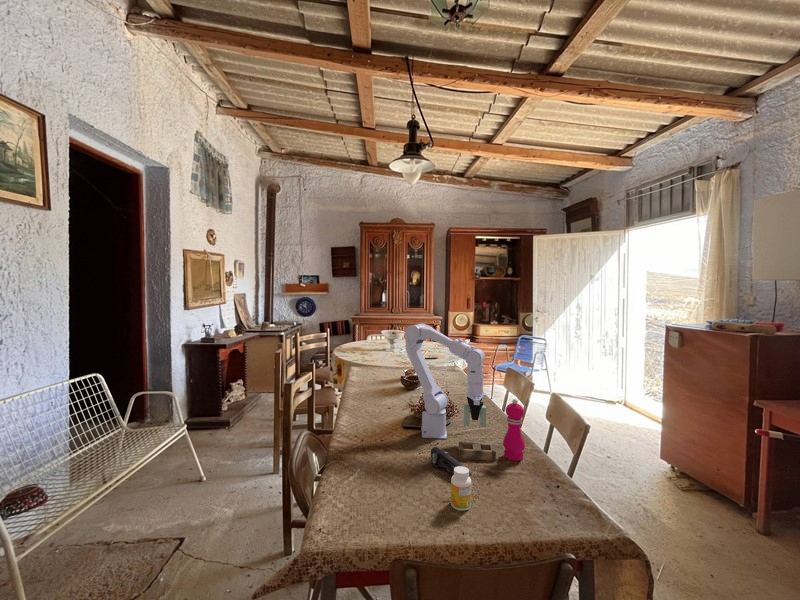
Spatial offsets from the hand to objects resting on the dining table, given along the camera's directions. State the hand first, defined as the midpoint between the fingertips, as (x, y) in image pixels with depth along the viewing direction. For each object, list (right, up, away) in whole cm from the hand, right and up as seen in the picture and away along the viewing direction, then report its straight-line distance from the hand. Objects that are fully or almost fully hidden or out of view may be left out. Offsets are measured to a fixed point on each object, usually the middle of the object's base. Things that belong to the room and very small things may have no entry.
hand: (474, 418), depth 139 cm
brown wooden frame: (-1, -10, -9) cm, 14 cm away
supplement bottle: (-11, -11, -38) cm, 42 cm away
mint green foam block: (0, -2, 0) cm, 2 cm away
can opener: (-12, -11, -21) cm, 26 cm away
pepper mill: (+11, -10, -10) cm, 18 cm away
